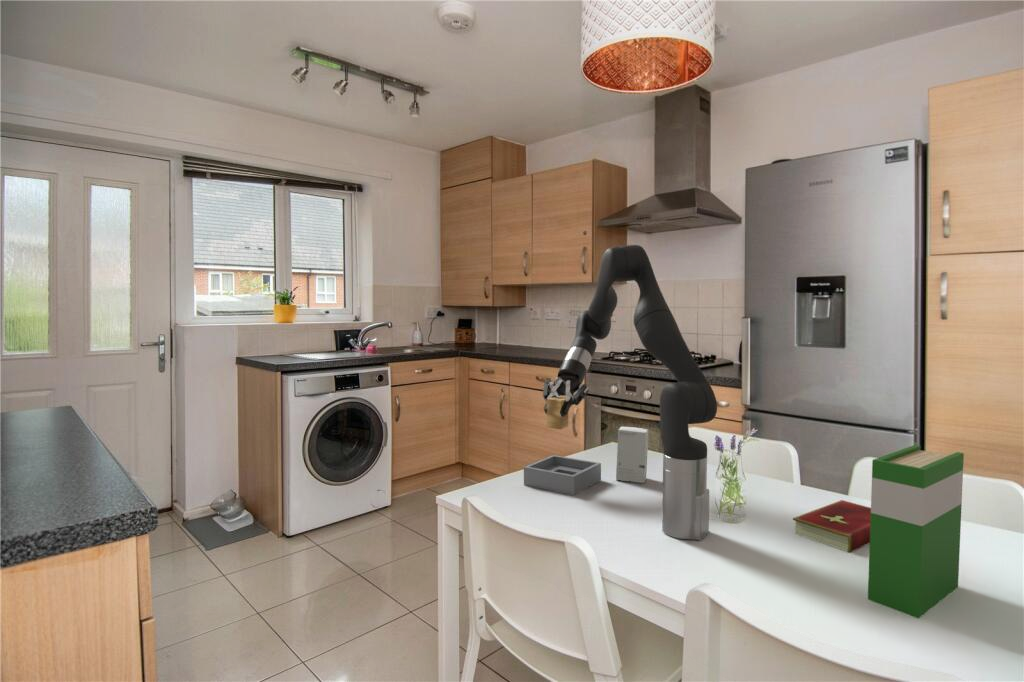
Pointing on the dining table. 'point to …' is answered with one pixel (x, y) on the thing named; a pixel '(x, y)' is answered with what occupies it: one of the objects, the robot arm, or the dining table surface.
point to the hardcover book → (837, 525)
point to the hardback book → (915, 529)
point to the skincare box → (632, 454)
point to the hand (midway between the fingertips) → (554, 413)
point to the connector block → (556, 413)
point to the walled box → (562, 474)
